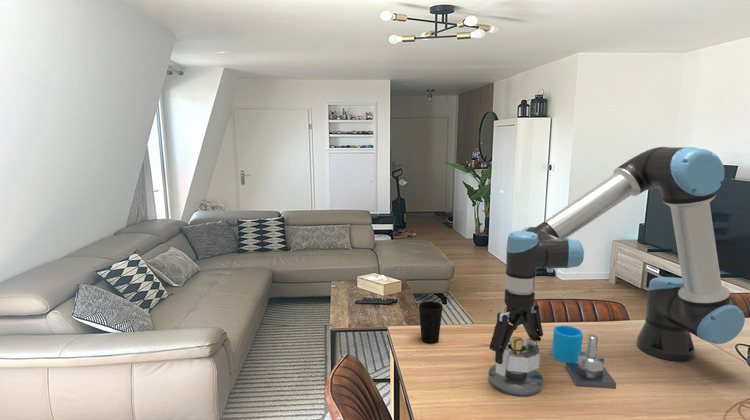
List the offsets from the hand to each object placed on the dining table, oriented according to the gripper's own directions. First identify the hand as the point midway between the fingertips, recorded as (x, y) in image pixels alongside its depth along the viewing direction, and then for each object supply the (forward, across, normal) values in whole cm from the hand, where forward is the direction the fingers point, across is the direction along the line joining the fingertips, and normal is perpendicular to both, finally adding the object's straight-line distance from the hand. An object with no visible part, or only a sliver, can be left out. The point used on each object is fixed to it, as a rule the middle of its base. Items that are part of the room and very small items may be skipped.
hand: (515, 367), depth 122 cm
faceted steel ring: (-2, 0, 0) cm, 2 cm away
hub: (+4, 0, 0) cm, 4 cm away
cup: (+4, +3, -32) cm, 33 cm away
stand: (+4, -19, +10) cm, 22 cm away
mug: (+4, -26, -3) cm, 27 cm away
